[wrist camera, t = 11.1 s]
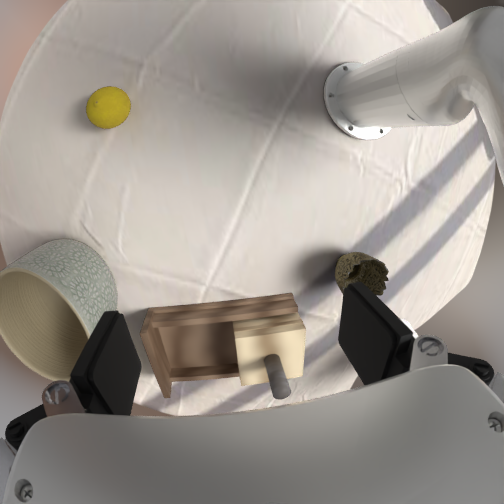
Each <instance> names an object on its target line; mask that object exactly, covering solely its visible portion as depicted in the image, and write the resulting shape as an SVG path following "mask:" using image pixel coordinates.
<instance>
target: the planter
mask: <svg viewBox="0 0 504 504" xmlns="http://www.w3.org/2000/svg"><path fill="white" fill-rule="evenodd" d="M116 309H117V289H116V284H115V280H114V278H113V275H112V273H111V271H110V269H109V267H108V266H107V264H106V263H105V261H104V260H103V259H102V258H101V256H100V255H99V254H98V253H97V252H95V251H94V250H93V249H92V248H90V247H89V246H87V245H85V244H83V243H81V242H79V241H75V240H71V239H58V240H53V241H50V242H48V243H45V244H43V245H41V246H39V247H38V248H36V249H35V250H33V251H31V252H29V253H28V254H26V255H24V256H23V257H21V258H19V259H18V260H16V261H15V262H13V263H11V264H10V265H8V266H7V267H6V268H4V269H3V270H2V271H0V335H1V336H2V338H3V340H4V341H5V343H6V344H7V346H8V347H9V348H10V350H11V351H12V352H13V353H14V354H15V356H16V357H17V358H18V359H19V360H20V361H22V362H23V363H24V364H25V365H26V366H27V367H29V368H30V369H31V370H33V371H34V372H36V373H37V374H39V375H41V376H43V377H45V378H47V379H50V380H53V381H57V380H65V381H68V382H69V380H70V378H71V376H70V374H71V372H72V370H73V368H74V366H75V364H76V362H77V360H78V358H79V356H80V354H81V352H82V350H83V348H84V347H85V345H86V343H87V341H88V339H89V337H90V336H91V334H92V332H93V330H94V328H95V327H96V325H97V323H98V321H99V320H100V318H101V316H102V315H103V313H104V312H105V311H116Z"/></svg>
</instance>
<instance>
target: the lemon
mask: <svg viewBox="0 0 504 504" xmlns="http://www.w3.org/2000/svg"><path fill="white" fill-rule="evenodd" d="M130 109H131V103H130V99H129V97H128V95H127V94H126V93H125V92H124V91H123V90H122V89H119V88H117V87H112V86H109V87H103V88H101V89H98V90H97V91H95V92H94V93H93V94H92V95H91V97H90V98H89V100H88V102H87V106H86V113H87V116H88V119H89V120H90V121H91V123H93V124H94V125H95V126H97V127H100V128H103V129H110V128H114V127H116V126H119V125H120V124H121V123H123V122H124V121H125V120H126V118H127V117H128V115H129V112H130Z"/></svg>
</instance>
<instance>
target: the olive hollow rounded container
mask: <svg viewBox="0 0 504 504" xmlns="http://www.w3.org/2000/svg"><path fill="white" fill-rule="evenodd" d="M388 272H389V271H388V269H387V268H386V266H385V264H384V263H383V262H381V261H379V260H378V259H375V258H373V257H371V256H369V255H367V254H364V253H360V252H352V253H348V254H345V255H342V256H341V257H340V258H339V259H338V260H337V263H336V269H335V279H336V282H337V284H338V286H339V288H340V290H341V292H342V293H344V289H345V288H346V287H347V286H348V284H350V283H356V282H362V283H363V284H364V285H365V286H367V287H368V288H369V289H370V290H371V291H372V292H373V293H374V294H375V295H382V294H383V290H385V289H386V286H385V282H384V281H388V278H387V277H386V275H387V274H388Z"/></svg>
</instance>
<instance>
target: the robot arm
mask: <svg viewBox="0 0 504 504" xmlns="http://www.w3.org/2000/svg"><path fill="white" fill-rule="evenodd" d="M343 69H344V70H343ZM329 96H330V97H329ZM324 100H325V104H326V108H327V110H328V113H329V115H330V116H331V118H332V120H333V121H334V122H335V123H336V125H337V126H338V127H339V128H340V129H341V130H343V131H344V132H345V133H347V134H348V135H350V136H352V137H355V138H357V139H362V140H372V139H377V138H380V137H382V136H384V135H385V134H387V133H388V131H389V130H390V129H391V128H398V127H417V126H449V125H454V124H457V123H459V122H460V121H462V120H463V119H465V118H466V116H467V115H468V114H469V113H470V112H471V110H472V109H473V107H474V105H476V106H477V108H478V110H479V112H480V115H481V117H482V120H483V122H484V124H485V126H486V129H487V131H488V134H489V137H490V140H491V144H492V147H493V150H494V154H495V157H496V161H497V165H498V168H499V172H500V176H501V179H502V182H503V185H504V7H499V6H490V7H485V8H482V9H479V10H476V11H475V12H472V13H470V14H468V15H466V16H465V17H463V18H461V19H460V20H458V21H456V22H455V23H453V24H451V25H449V26H448V27H446V28H444V29H442V30H440V31H438V32H436V33H434V34H432V35H429V36H427V37H425V38H423V39H420V40H418V41H416V42H413V43H411V44H408V45H406V46H404V47H401V48H399V49H396V50H394V51H392V52H390V53H388V54H385V55H383V56H381V57H379V58H377V59H375V60H373V61H370V62H368V63H366V64H363V63H359V62H349V63H345V64H342V65H340V66H338V67H336V68H335V69H334V70H333V71H332V72H331V73H330V74H329V76H328V77H327V80H326V82H325V86H324ZM348 127H349V130H348ZM412 335H413V332H412V331H411V330H410V329H409V328H408V327H407V326H406V325H405V324H404V323H403V322H402V321H401V320H400V319H399V318H398V317H397V316H396V315H395V314H394V313H393V312H392V311H391V310H390V309H389V308H388V307H387V306H386V305H385V304H384V303H383V302H382V301H381V300H380V299H379V298H378V297H377V296H376V295H375V294H374V293H373V292H372V291H371V290H370V289H369V288H368V287H367V286H365V285H364V284H363V283H362V282H356V283H350V284H348V286H347V287H346V288H345V289H344V293H343V303H342V313H341V321H340V329H339V337H338V340H339V344H340V346H341V348H342V349H343V351H344V352H345V354H346V356H347V357H348V359H349V361H350V362H351V364H352V365H353V367H354V369H355V370H356V372H357V374H358V375H359V377H360V378H361V380H362V382H363V383H364V385H365V386H362V387H358V388H354V389H351V390H347V391H344V392H340V393H336V394H332V395H328V396H324V397H320V398H316V399H311V400H307V401H302V402H297V403H292V404H287V405H281V406H275V407H269V408H263V409H256V410H249V411H241V412H232V413H221V414H209V415H193V416H130V414H131V409H132V404H133V400H134V396H135V392H136V388H137V384H138V380H139V376H140V372H141V362H140V359H139V357H138V354H137V352H136V349H135V347H134V344H133V341H132V339H131V336H130V333H129V330H128V327H127V324H126V322H125V319H124V316H123V314H120V313H119V312H118V311H117V310H116V311H105V312H104V313H103V315H102V316H101V318H100V320H99V321H98V323H97V325H96V327H95V328H94V330H93V332H92V334H91V336H90V337H89V339H88V341H87V343H86V345H85V347H84V348H83V350H82V352H81V354H80V356H79V358H78V360H77V362H76V364H75V366H74V368H73V370H72V372H71V374H70V376H71V378H70V380H69V382H68V381H65V380H57V381H54V382H52V383H50V384H49V385H48V386H47V387H46V388H45V389H44V391H43V393H42V401H43V404H42V405H40V406H38V407H36V408H35V409H32V410H30V411H29V412H27V413H25V414H23V415H21V416H19V417H17V418H16V419H14V420H12V421H11V422H10V423H9V424H8V426H7V428H6V431H5V436H6V439H5V440H4V439H3V438H1V439H0V504H504V375H502V374H501V373H497V374H496V375H494V370H493V368H492V366H491V365H490V364H489V363H487V362H486V361H484V360H481V359H477V358H471V357H466V356H461V355H457V354H452V353H448V349H447V345H446V343H445V342H444V341H443V340H442V339H440V338H439V337H437V336H433V335H421V336H419V337H417V338H416V339H415V338H414V337H413V336H412Z"/></svg>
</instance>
